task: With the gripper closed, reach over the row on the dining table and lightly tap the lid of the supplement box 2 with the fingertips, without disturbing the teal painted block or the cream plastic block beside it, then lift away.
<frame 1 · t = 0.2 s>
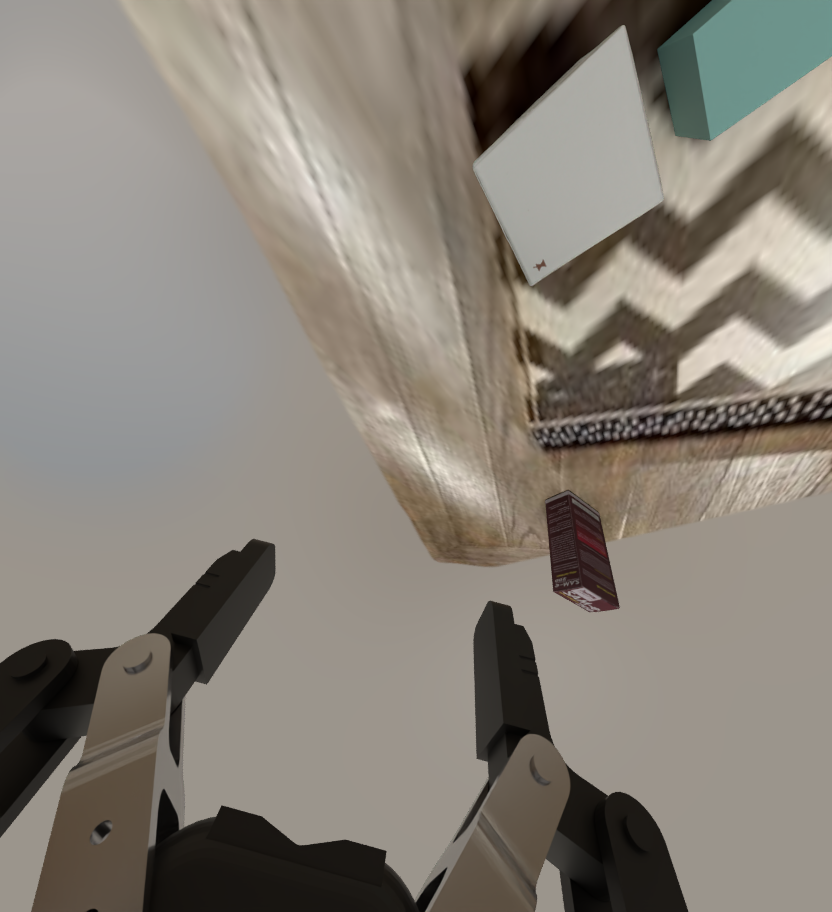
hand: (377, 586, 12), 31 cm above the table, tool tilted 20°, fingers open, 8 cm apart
teal block: (714, 56, 20), on the table
supplement box 2: (547, 161, 25), on the table
supplement box: (571, 505, 54), on the table
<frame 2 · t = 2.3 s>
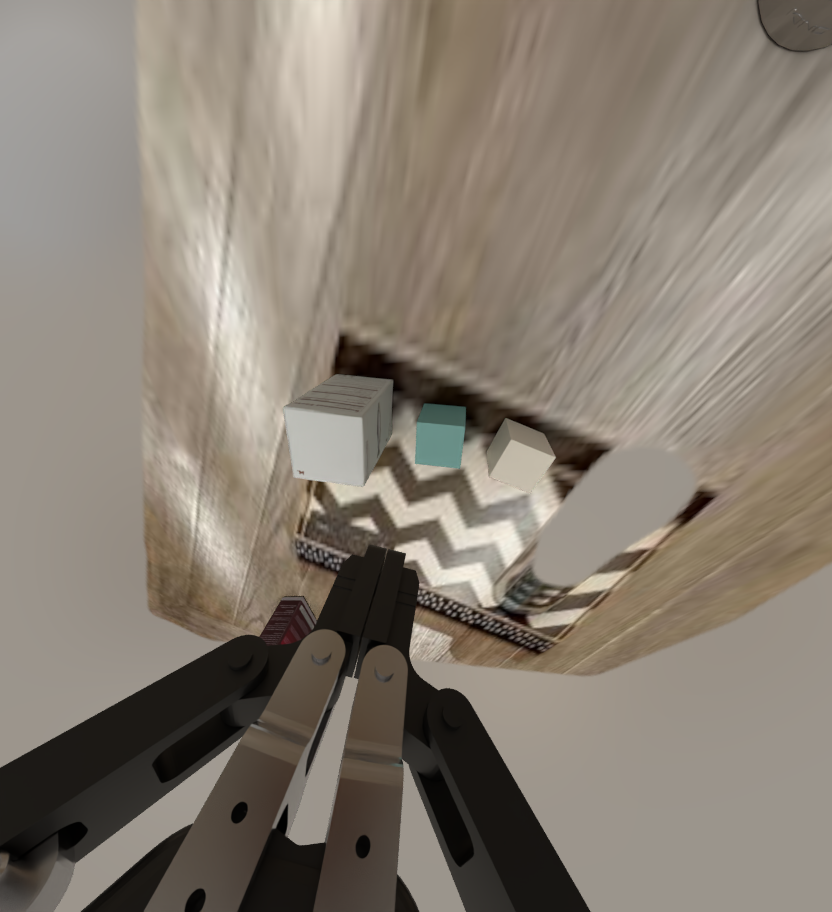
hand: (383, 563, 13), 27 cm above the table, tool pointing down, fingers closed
teal block: (443, 424, 39), on the table
supplement box 2: (365, 403, 39), on the table
supplement box: (301, 609, 62), on the table
cream block: (514, 442, 39), on the table
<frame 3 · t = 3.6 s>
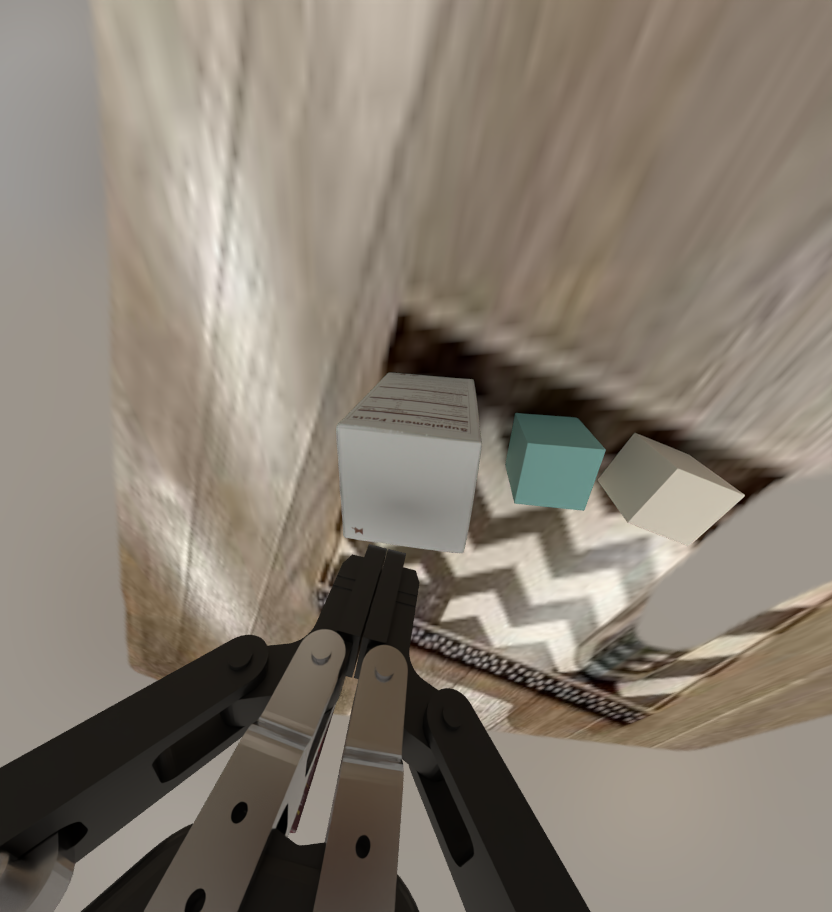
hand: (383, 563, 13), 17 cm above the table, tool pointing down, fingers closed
teal block: (539, 442, 27), on the table
supplement box 2: (428, 414, 28), on the table
supplement box: (320, 669, 50), on the table
cream block: (641, 467, 27), on the table
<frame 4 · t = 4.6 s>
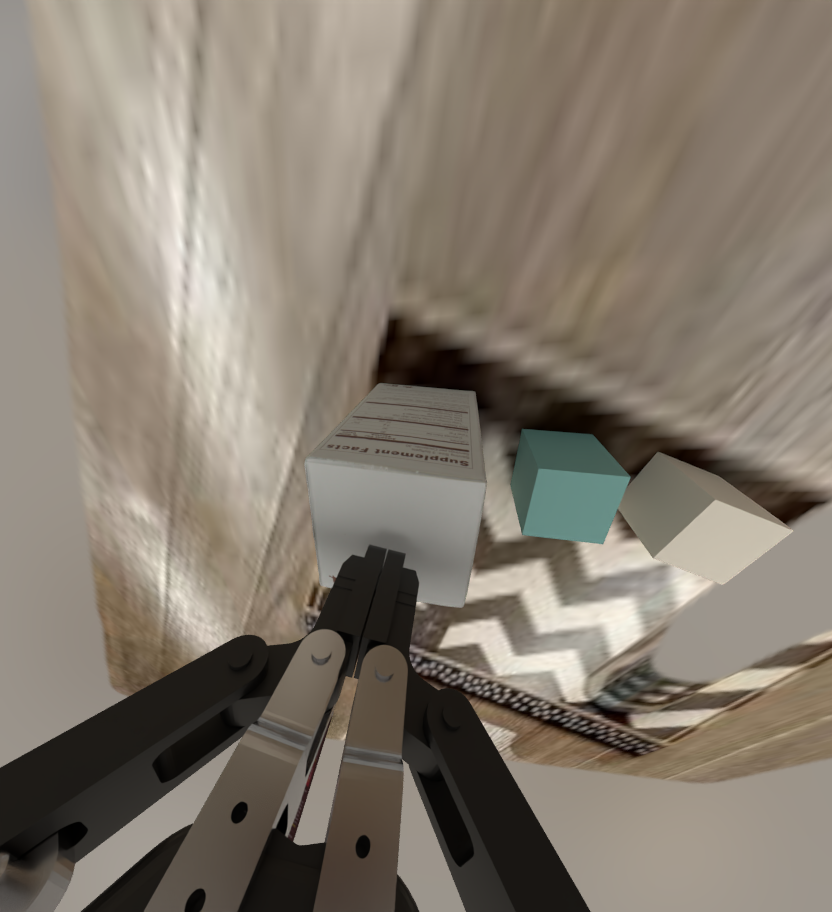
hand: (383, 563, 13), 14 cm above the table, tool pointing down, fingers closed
teal block: (549, 461, 24), on the table
supplement box 2: (423, 429, 25), on the table
supplement box: (311, 694, 47), on the table
cream block: (663, 489, 24), on the table
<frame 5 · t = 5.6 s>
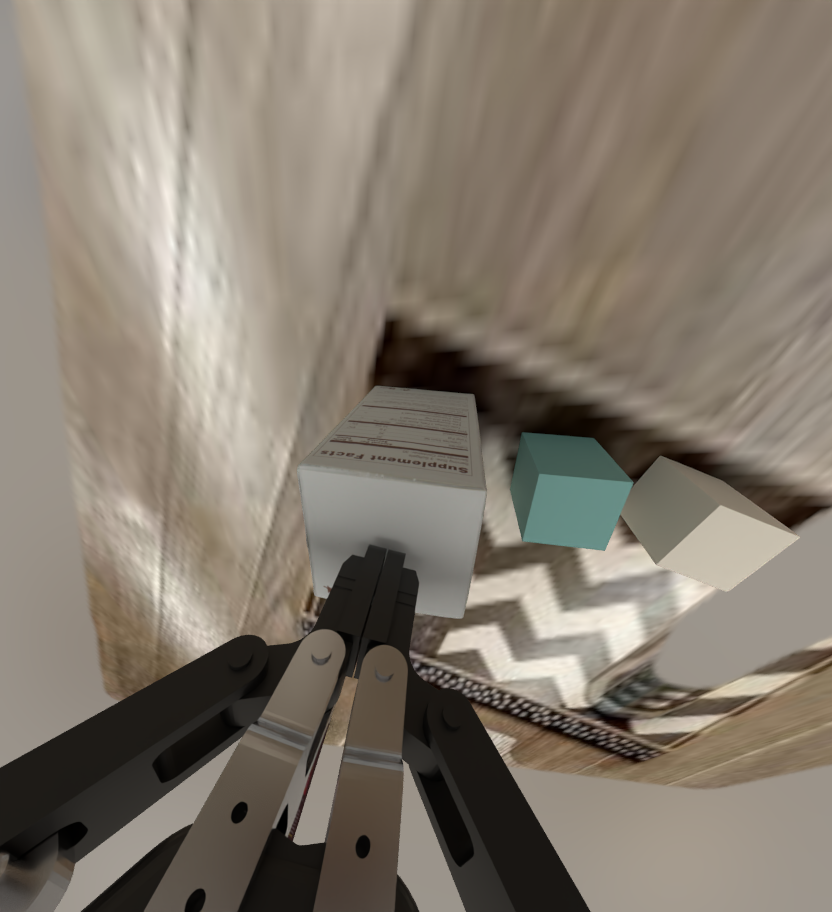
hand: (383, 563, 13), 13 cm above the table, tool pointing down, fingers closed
teal block: (549, 465, 24), on the table
supplement box 2: (421, 432, 24), on the table
supplement box: (308, 699, 46), on the table
cream block: (666, 494, 24), on the table
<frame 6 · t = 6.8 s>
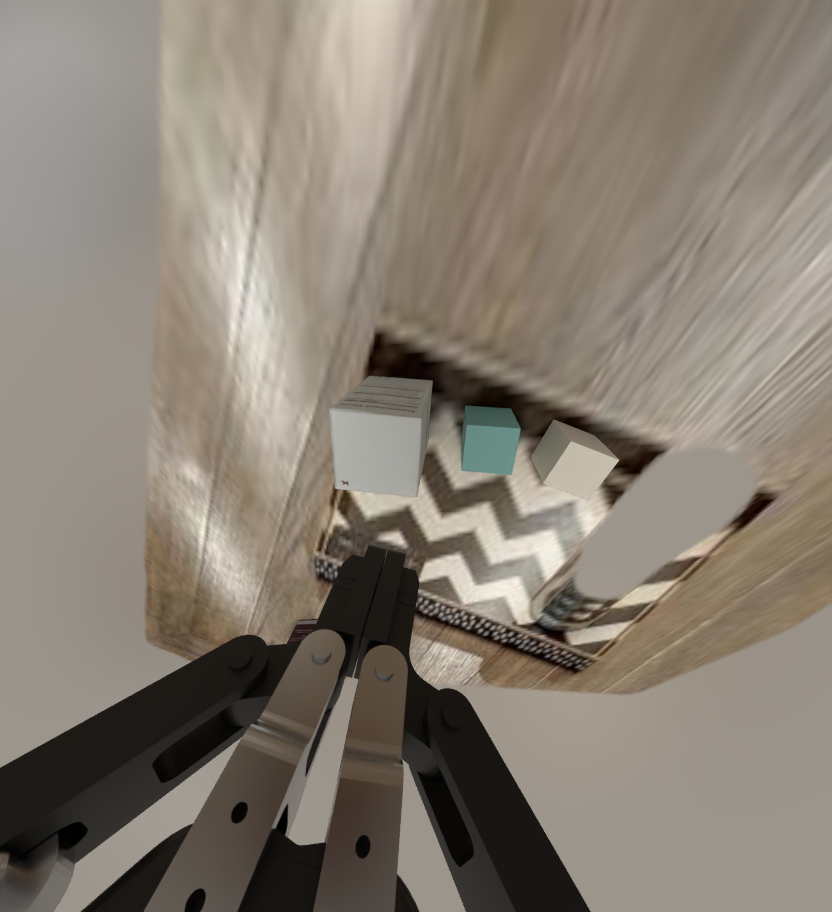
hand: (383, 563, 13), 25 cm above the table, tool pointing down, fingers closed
teal block: (485, 428, 36), on the table
supplement box 2: (400, 407, 36), on the table
supplement box: (317, 633, 57), on the table
cream block: (561, 446, 36), on the table
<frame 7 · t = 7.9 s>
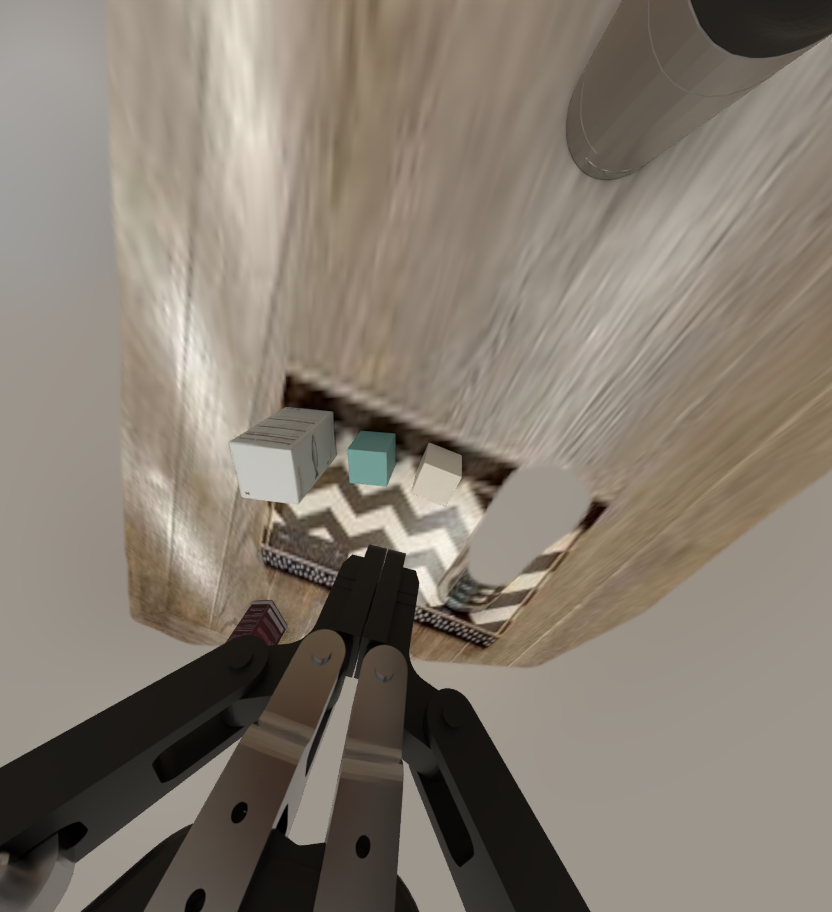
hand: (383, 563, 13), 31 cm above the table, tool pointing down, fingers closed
teal block: (378, 447, 46), on the table
supplement box 2: (312, 430, 46), on the table
supplement box: (271, 612, 68), on the table
cream block: (438, 463, 45), on the table
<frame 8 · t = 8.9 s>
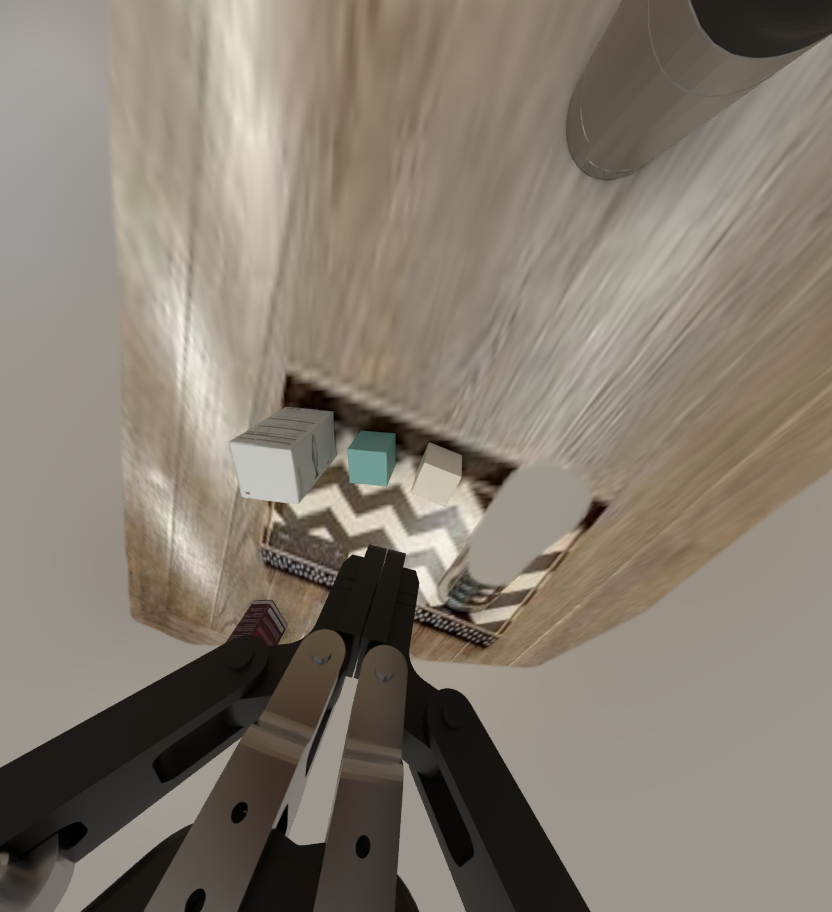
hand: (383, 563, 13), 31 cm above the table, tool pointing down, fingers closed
teal block: (378, 447, 46), on the table
supplement box 2: (312, 430, 46), on the table
supplement box: (271, 612, 68), on the table
cream block: (438, 462, 45), on the table
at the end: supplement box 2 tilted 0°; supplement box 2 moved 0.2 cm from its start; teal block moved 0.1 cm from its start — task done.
